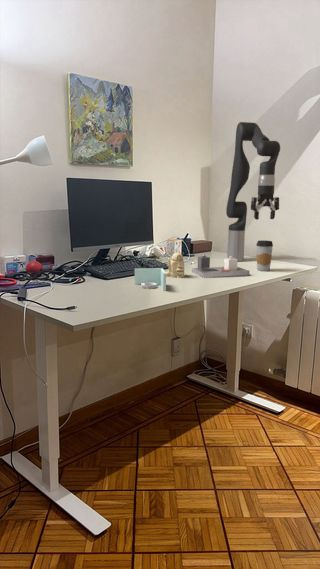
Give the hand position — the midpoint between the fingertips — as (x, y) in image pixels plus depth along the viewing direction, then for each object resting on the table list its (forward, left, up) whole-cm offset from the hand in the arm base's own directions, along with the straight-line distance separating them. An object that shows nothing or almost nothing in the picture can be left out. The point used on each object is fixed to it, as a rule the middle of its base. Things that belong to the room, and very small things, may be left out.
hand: (264, 219), depth 222 cm
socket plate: (-4, -20, -27) cm, 34 cm away
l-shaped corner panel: (+17, -63, -27) cm, 70 cm away
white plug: (-4, -15, -26) cm, 30 cm away
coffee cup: (-9, +7, -27) cm, 29 cm away
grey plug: (-17, -23, -27) cm, 39 cm away
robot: (-2, -44, -27) cm, 52 cm away
